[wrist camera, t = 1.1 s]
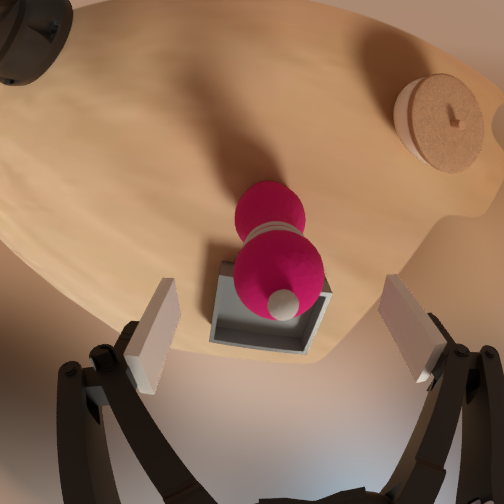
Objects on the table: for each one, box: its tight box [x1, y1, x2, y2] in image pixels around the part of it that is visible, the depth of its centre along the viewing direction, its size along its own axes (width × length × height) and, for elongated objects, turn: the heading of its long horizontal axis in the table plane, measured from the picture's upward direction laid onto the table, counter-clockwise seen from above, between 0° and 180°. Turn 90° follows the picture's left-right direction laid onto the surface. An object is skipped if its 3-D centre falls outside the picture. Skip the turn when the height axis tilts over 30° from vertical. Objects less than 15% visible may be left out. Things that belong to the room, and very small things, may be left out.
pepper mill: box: [233, 181, 325, 321], centre depth 24 cm, size 7×7×20 cm
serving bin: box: [209, 261, 332, 355], centre depth 37 cm, size 14×11×4 cm
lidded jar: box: [393, 74, 484, 173], centre depth 23 cm, size 11×11×9 cm
